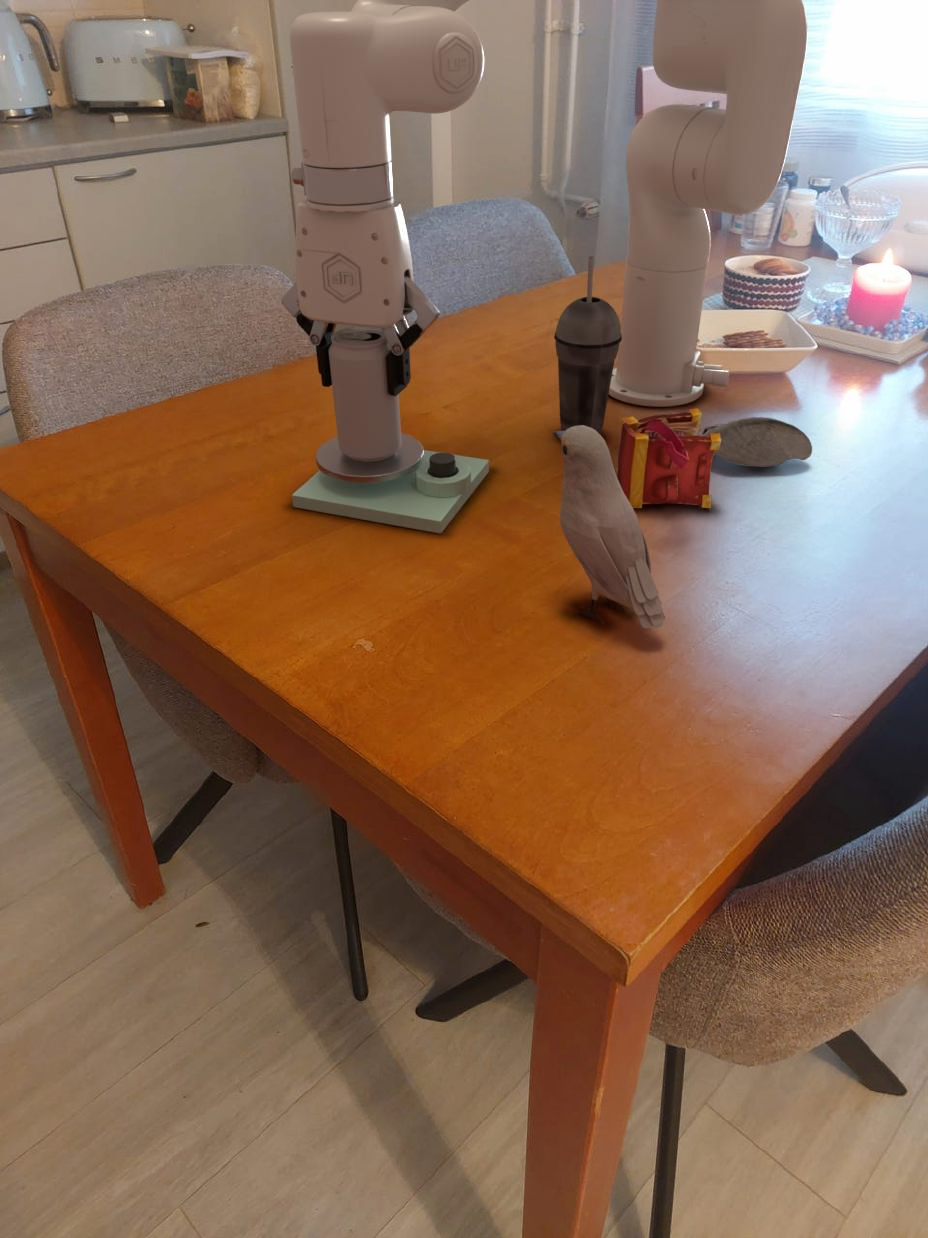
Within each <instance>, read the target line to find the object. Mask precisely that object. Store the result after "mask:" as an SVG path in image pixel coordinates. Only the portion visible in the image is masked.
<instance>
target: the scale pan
mask: <svg viewBox="0 0 928 1238" xmlns="http://www.w3.org/2000/svg"><path fill="white" fill-rule="evenodd" d="M401 440H402V444H401V447H400V448H399V450H397V451H396V452H395V454H394V455H393V456H391V457H389V458H387V459H384V460H381V461H375V462H361V461H356V460H353V459H351V458H349V457H348V456H347V455H345V454H344V453H342V452H341V451H340V449H339V444H338V435H337V436H335V437H333V438H330V439H328V440H327V441H325V442H324V443H322V444H321V445H320V446H319V447H318V449H317V450H316V453H315V460H316V462H315V463H316V467H317V468H318V471H319V470H320V471H321V472H322V473H324V474H325V475H327V476H329V477H331V478H333V479H336V480H340V481H345V482H351V483H378V482H385V481H390V480H394V479H398V478H401V477H404V476H406V475H408V474H410V473H412V472H413V471H415V470H416V469H417V468H419V467H420V465H421V464H422V462H423V460H424V450H425V449H424V447H423V445H422V444H421V442H420V441H419V440H418V439H416V438H415V437H413V436H411V435H408V434H406V433H402V432H401Z"/></svg>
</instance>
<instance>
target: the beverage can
mask: <svg viewBox="0 0 928 1238" xmlns="http://www.w3.org/2000/svg"><path fill="white" fill-rule="evenodd" d="M331 341H332V344H331V346H330V348H329V361H330V370H331V379H332V385H331V387H332V395H333V406H334V407H333V408H334V415H335V423H336V434H337V436H338V444H339V449H340V451H341V452H342V453H344V454H345V455H347V456H348V457H349V458H351V459H353V460H356V461H361V462H375V461H381V460H384V459H387V458H389V457H391V456H393V455H394V454H395V452H396V451H397V450H399V448H400V447H401V444H402V440H401V433H402V427H401V412H400V411H401V410H400V393H399V394H398V395H397V396H391V395H390V394H389V393H388V382H387V366H386V356H387V355H388V354H389V353H390V352H391V349H390V347H389V344H388V342H387V340H386V338H385V336H384V333H383V331H382V329H381V328H372V327H362V326H353V327H346V328H342V329H340V330H337V331H334V334H333V335H332V336H331Z"/></svg>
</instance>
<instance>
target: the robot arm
mask: <svg viewBox="0 0 928 1238" xmlns="http://www.w3.org/2000/svg"><path fill="white" fill-rule="evenodd" d="M355 1H356V2H355V3H354V4H353V6H352V8H351V10H350V11H317V12H316V11H315V12H307V13H302V14H300V15H299V16H297V17H296V18H295V19H294V20H293V22H292V24H291V26H290V29H289V30H290V31H289V46H290V55H291V64H292V73H293V74H292V75H293V83H294V92H295V102H296V111H297V112H296V113H297V121H298V122H297V123H298V132H299V140H300V150H301V160H302V162H301V163H300V164H301V165H300V167H294V168H293V169H292V171H291V180H292V182H293V184H294V185H298V186H301V187H303V194H304V196H305V197H306V200H302V201H300V202H298V204H297V214H296V223H295V225H296V226H295V272H296V273H295V277H296V281H295V282H294V284H293V285H292V286H291V287H290V288H289V289H288V291H287V292H286V293H285V294H284V295H283V296H282V298H281V304H282V305H283V307H284V308H285V309H286V310H287V311H288V313H289V314H290V315H291V316H292V317H293V318H295V320H296V323H297V325H298V326H299V327H300V328H301V329H302V330H303V331H304V333H305V334H306V335H307V336H308V338H309V343H310V344H311V345H312V346H315V352H316V361H317V370H318V373H319V375H320V378H321V386H322V387H325V388H329V387H332V379H331V370H330V361H329V348H330V346H331V344H332V341H331V336H332V335H333V334H334V333H335V332H336V331H335V330H336V327H337V325H344V326H353V327H360V326H362V327H372V328H381V329H382V331H383V333H384V336H385V338H386V340H387V342H388V344H389V347H390V349H391V352H390V353H389V354H388V355H387V356H386V366H387V382H388V393H389V394H390V395H391V396H397V395H398V394H399V395H400V394H401V392H403V391H404V390H405V389H406V388H407V387H408V385H409V383H410V382H411V379H412V376H411V354H410V353H411V352H410V348H411V347H412V346H413V345H414V344H415V343H416V342H417V341H418V340H419V339H420V338H421V337H422V336H423V335H424V334H425V333H426V332H427V330H428V329H429V328H430V327H431V326H432V325H433V324H434V323H435V322H436V321H437V320H438V319H439V317H440V315H441V313H440V310H439V308H437V306H436V305H435V304H434V303H433V301H431V300H430V298H429V297H428V296H427V295H426V294H425V293H424V292H423V291H422V290H421V288H420V287H419V286H418V285H417V284H416V283H415V280H414V279H415V278H414V269H413V260H412V253H411V245H410V239H409V234H408V229H407V225H406V224H407V223H406V220H405V215H404V212H403V208H402V204H401V201H399V200H395V197H394V196H395V195H394V194H395V193H394V178H393V177H394V176H393V175H394V174H393V161H392V159H393V158H392V157H393V156H392V141H391V138H392V137H391V121H390V114H391V113H393V112H409V113H411V112H412V113H424V114H435V115H436V114H444V113H448V112H451V111H454V110H457V109H458V108H459V107H461V106H463V105H464V104H466V103H467V102H468V101H469V100H470V99H471V98H472V97H473V95H474V94H475V93H476V91H477V89H478V88H479V85H480V83H481V81H482V79H483V74H484V68H485V52H484V47H483V43H482V41H481V37H480V35H479V34H478V32H477V29H476V28H475V27H474V26H473V25H472V23H471V22H470V21H469V20H468V19H466V18H465V17H464V16H463V15H461V14H459V13H458V12H456V11H457V10H458V9H460V8H461V7H462V6H463V5H465V4H466V3H468V2H469V1H470V0H355ZM656 1H657V2H656V8H655V9H656V10H655V11H656V12H655V18H654V19H655V20H654V28H653V29H654V30H653V38H652V39H653V41H652V65H653V70H654V72H655V74H656V76H657V78H658V79H659V81H661V82H662V83H663V84H664V85H666V86H669V87H671V88H674V89H679V90H683V91H684V90H685V91H693V92H702V93H712V94H721V95H726V103H725V109H723V108H719V107H718V108H717V107H713V106H703V105H702V106H701V105H694V104H683V103H681V104H668V105H667V104H666V105H663V106H660V107H657V108H655V109H652V110H651V111H649V112H648V113H646V114H645V115H644V116H643V117H641V118H640V120H639V121H638V122H637V124H636V125H635V126H634V129H633V130H632V132H631V134H630V137H629V140H628V143H627V148H626V157H625V158H626V159H625V169H626V182H627V192H628V193H627V194H628V208H629V210H628V211H629V212H628V213H629V214H628V215H629V218H628V219H629V220H628V236H627V237H628V239H627V251H626V261H625V270H624V271H625V272H624V281H623V293H622V305H621V315H620V326H621V335H622V341H621V342H620V343H619V349H618V353H617V357H616V359H617V360H616V367H615V368H614V367H613V372H612V378H611V383H610V389H609V395H608V396H610V397H612V398H614V399H615V400H618V401H621V402H623V403H627V404H631V405H636V406H640V407H641V406H642V407H651V408H652V407H653V408H669V407H676V406H683V405H686V404H689V403H693V402H694V401H696V400H697V399H699V398H700V397H701V396H702V395H703V392H704V388H705V385H712V386H713V387H721V388H728V386H729V382H730V376H731V371H729V370H723V365H719V364H705V363H704V361H700V358H701V351H700V350H697V347H698V339H699V333H700V326H701V325H700V324H701V319H702V311H703V305H704V304H703V303H704V297H705V288H706V283H707V276H708V268H709V264H710V259H711V258H710V257H711V249H712V237H711V229H710V224H709V219H708V216H707V213H706V210H707V211H712V212H716V213H723V214H727V215H735V216H736V215H738V216H740V215H741V216H742V215H748V214H752V213H754V212H757V210H759V209H761V207H762V208H763V206H764V205H765V204H766V203H767V202H768V201H769V199H771V197H772V195H773V194H774V192H775V191H776V189H777V186H778V184H779V181H780V180H781V176H782V173H783V170H784V166H785V162H786V158H787V154H788V147H789V143H790V138H791V133H792V128H793V124H794V117H795V112H796V108H797V102H798V97H799V93H800V87H801V81H802V77H803V72H804V67H805V61H806V55H807V49H808V37H809V36H808V31H809V29H808V19H807V12H806V8H805V5H804V2H803V0H656ZM413 311H414V312H415V313H416V316H417V318H416V319H415V320H414V322H413V323H412V324H411V325H410V326H409V323H408V322H407V320H406V318H405V316H407V315H409V314H412V312H413Z"/></svg>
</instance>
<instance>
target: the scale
mask: <svg viewBox="0 0 928 1238" xmlns="http://www.w3.org/2000/svg"><path fill="white" fill-rule="evenodd" d="M423 450H424V460H423V462H422V464H421V465H420V467H419V468H417V469H416V470H415V471H413V472H412V473H410V474H408V475H406V476H404V477H401V478H398V479H394V480H390V481H385V482H378V483H351V482H345V481H340V480H336V479H333V478H331V477H329V476H327V475H325V474H324V473H322V472H321V471H320V470H319V469H318V470H317V472H316V473H315V474H314V475H312V476H311V477H310V478H309V479H308V480H306V481H305V483H304V484H302V485H301V486H300V487H299V488H297V490H296V491H295V492H293V493H292V494H291V500H292V507H293V508H296V509H301V510H307V511H313V512H317V513H323V514H324V513H325V514H329V515H336V516H341V517H345V518H352V519H357V520H362V521H368V522H373V523H380V524H384V525H390V526H397V527H400V528H401V527H402V528H406V529H407V528H408V529H412V530H413V529H414V530H418V531H424V532H430V533H434V534H440V535H441V534H442V533H443V532H444V530H445V529H446V528H447V526H449V524H450V522H451V521H452V520H453V519H454V518H455V516H456V515H458V514H457V513H458V512H459V511H460V510H461V509H462V507H463V506H464V505H465V503H466V502H467V501H468V499H469V498H470V497H471V496H472V495H473V494H474V492H475V491H476V489H477V488H478V486H479V485H480V484H481V482H482V481H483V480H484V479H485V478H486V476H487V475H488V473H490V459H484V458H478V457H470V456H466V455H459V454H453V455H454V456H455V458H456V474H455V475H454V476H452V477H448V478H437V477H433V476H431V475H430V461H429V459H430V456H432V455H433V454H436V453H440V451H439V452H438V451H432V450H426V449H423Z"/></svg>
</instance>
